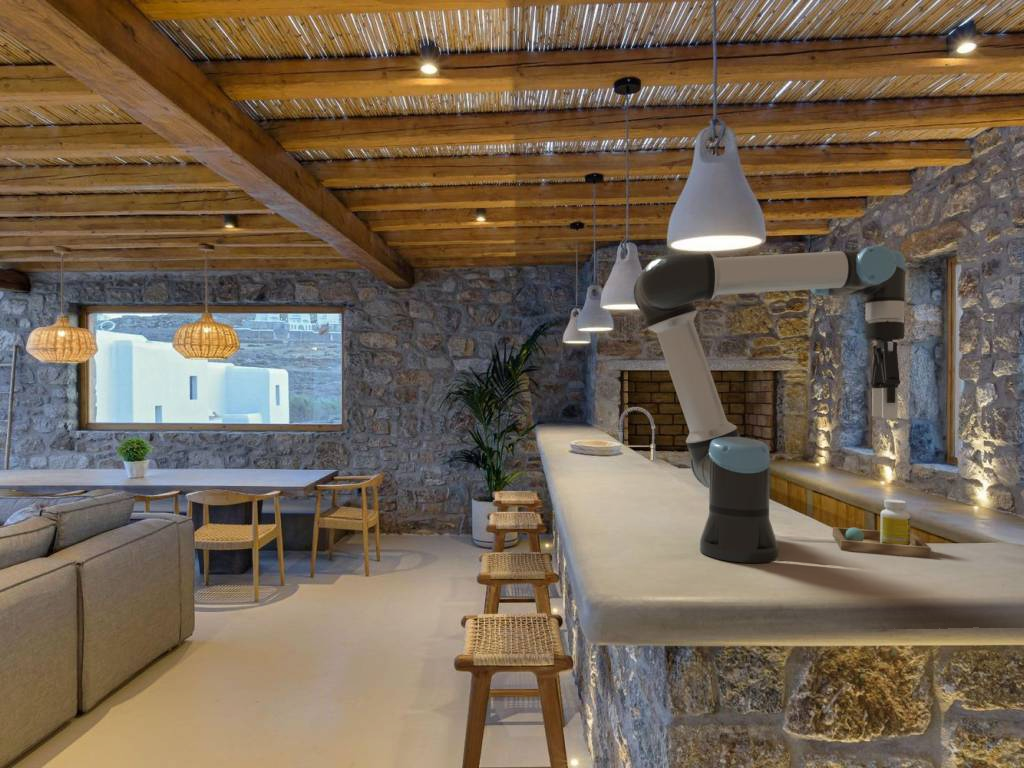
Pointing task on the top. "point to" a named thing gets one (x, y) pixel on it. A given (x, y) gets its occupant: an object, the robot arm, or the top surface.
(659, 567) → the top surface
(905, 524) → the supplement bottle
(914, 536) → the tray
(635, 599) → the top surface
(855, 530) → the ball
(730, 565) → the top surface
